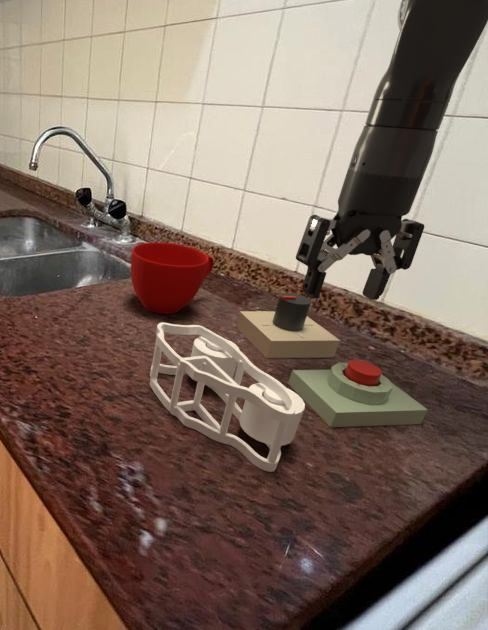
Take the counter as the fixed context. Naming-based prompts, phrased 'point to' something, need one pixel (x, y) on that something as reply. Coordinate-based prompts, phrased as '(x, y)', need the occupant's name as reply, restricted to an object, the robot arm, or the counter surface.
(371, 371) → the power button
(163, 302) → the ceramic cup
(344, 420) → the power switch
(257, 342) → the control panel
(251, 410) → the skeletal toy car
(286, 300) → the dial
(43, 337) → the counter surface
